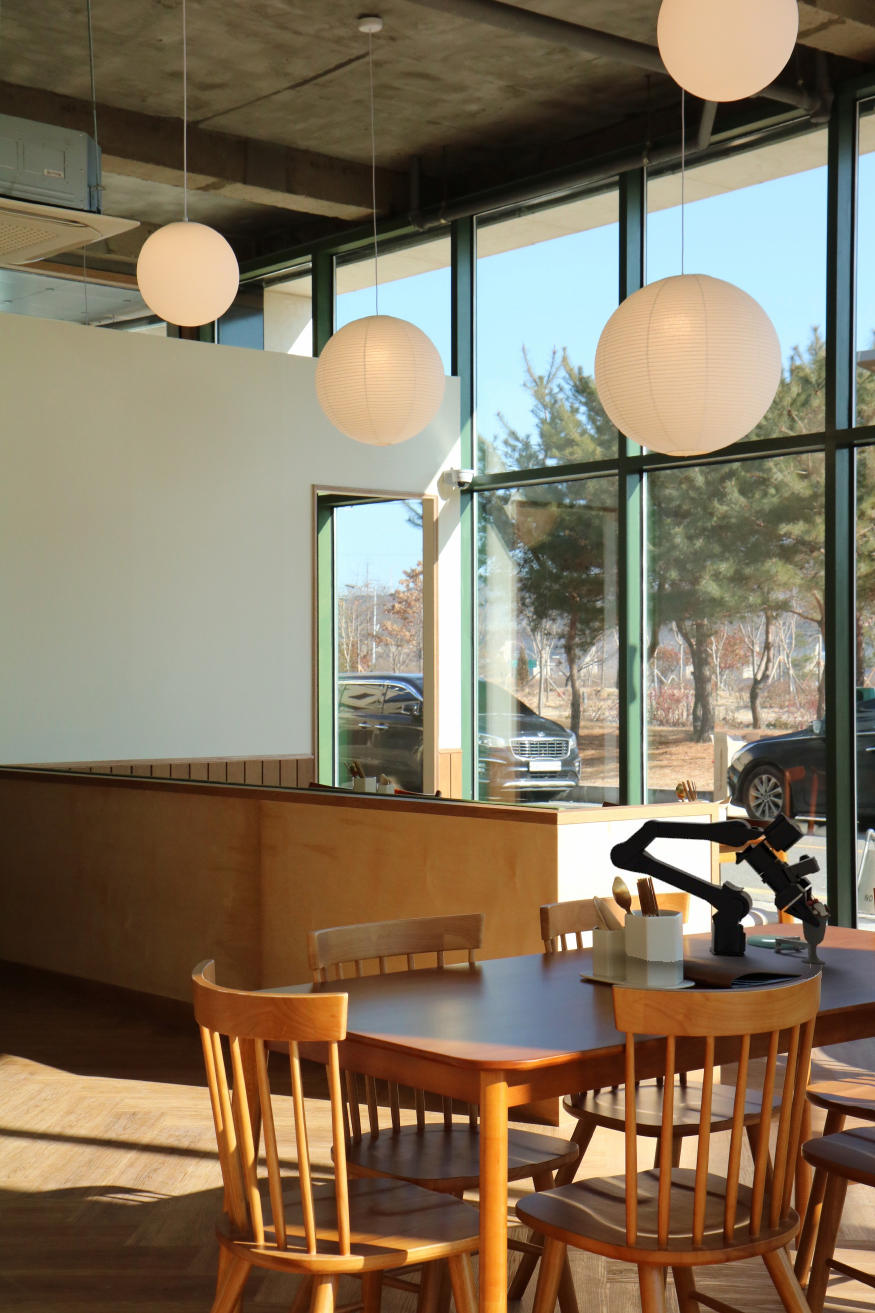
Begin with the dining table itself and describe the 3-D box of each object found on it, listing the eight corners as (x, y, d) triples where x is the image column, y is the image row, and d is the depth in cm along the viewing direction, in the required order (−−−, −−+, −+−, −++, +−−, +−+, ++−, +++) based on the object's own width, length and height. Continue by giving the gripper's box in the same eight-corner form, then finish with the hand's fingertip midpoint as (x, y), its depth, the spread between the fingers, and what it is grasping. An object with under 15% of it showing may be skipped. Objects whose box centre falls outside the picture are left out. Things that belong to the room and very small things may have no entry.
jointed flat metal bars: (780, 956, 284) (781, 942, 285) (770, 948, 294) (770, 934, 295) (815, 958, 284) (815, 943, 284) (803, 950, 294) (804, 936, 294)
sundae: (796, 963, 277) (798, 891, 278) (797, 958, 284) (799, 887, 284) (829, 966, 275) (831, 893, 276) (829, 961, 282) (831, 890, 282)
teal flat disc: (753, 948, 294) (753, 943, 294) (741, 938, 307) (741, 933, 307) (812, 950, 294) (812, 946, 294) (797, 940, 307) (797, 936, 307)
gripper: (792, 845, 273) (846, 904, 269) (802, 839, 291) (853, 894, 286) (752, 881, 276) (805, 939, 271) (764, 872, 293) (814, 927, 289)
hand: (821, 924), depth 279 cm, fingers open, 8 cm apart
